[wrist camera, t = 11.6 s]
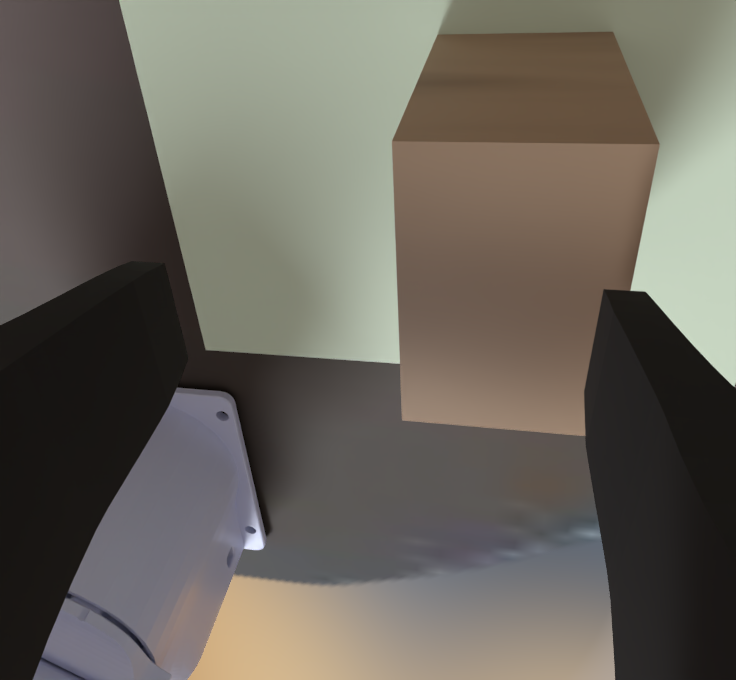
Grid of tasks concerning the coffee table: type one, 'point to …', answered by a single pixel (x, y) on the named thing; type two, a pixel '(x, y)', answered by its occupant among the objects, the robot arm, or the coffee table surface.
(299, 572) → the coffee table surface
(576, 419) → the tall cardboard box
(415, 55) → the pitch
